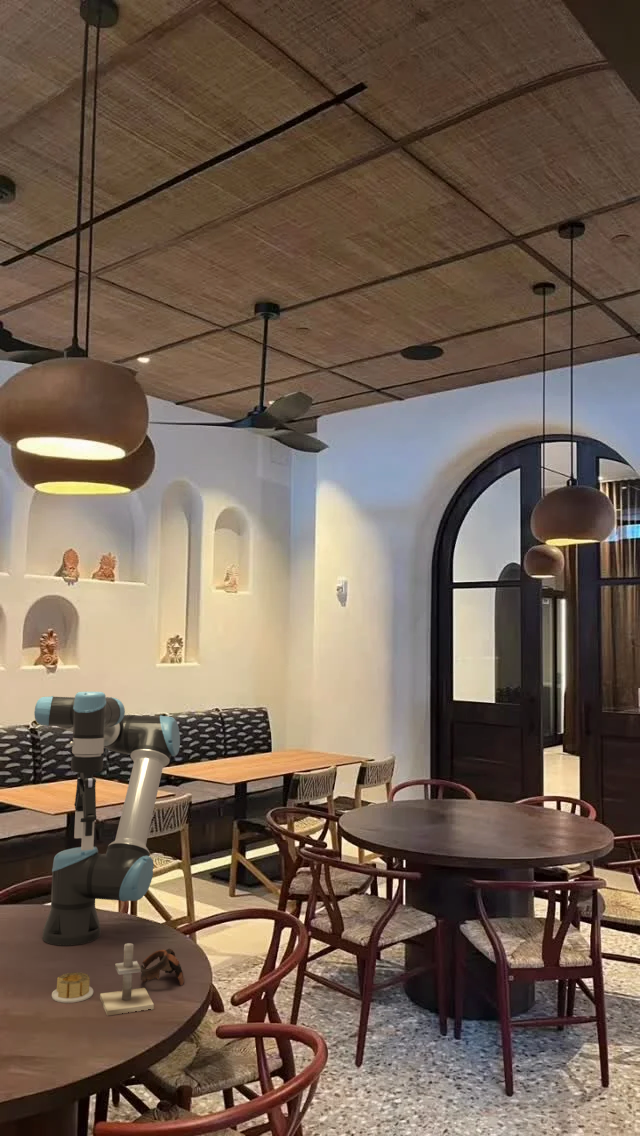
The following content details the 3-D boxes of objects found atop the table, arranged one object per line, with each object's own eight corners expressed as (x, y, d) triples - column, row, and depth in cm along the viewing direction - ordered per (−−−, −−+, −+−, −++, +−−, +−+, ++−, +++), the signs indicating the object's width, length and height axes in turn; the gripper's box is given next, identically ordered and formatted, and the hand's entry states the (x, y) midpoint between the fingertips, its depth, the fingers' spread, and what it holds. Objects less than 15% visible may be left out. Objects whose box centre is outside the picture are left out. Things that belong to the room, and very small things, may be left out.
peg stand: (99, 998, 192) (102, 940, 193) (144, 992, 196) (146, 935, 197) (106, 1015, 183) (109, 954, 184) (153, 1009, 186) (155, 949, 188)
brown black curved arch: (183, 992, 197) (166, 963, 196) (147, 1008, 198) (130, 979, 197) (192, 961, 209) (176, 933, 208) (158, 976, 210) (142, 948, 209)
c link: (86, 984, 198) (86, 971, 198) (90, 995, 192) (91, 981, 192) (55, 988, 195) (56, 974, 196) (58, 999, 189) (59, 985, 189)
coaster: (49, 990, 196) (50, 987, 196) (90, 985, 199) (90, 982, 199) (53, 1005, 188) (53, 1002, 188) (95, 999, 191) (95, 996, 191)
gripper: (66, 749, 221) (61, 834, 219) (78, 761, 198) (73, 855, 196) (95, 749, 224) (92, 832, 221) (111, 760, 201) (107, 853, 198)
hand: (83, 843), depth 208 cm, fingers open, 13 cm apart
